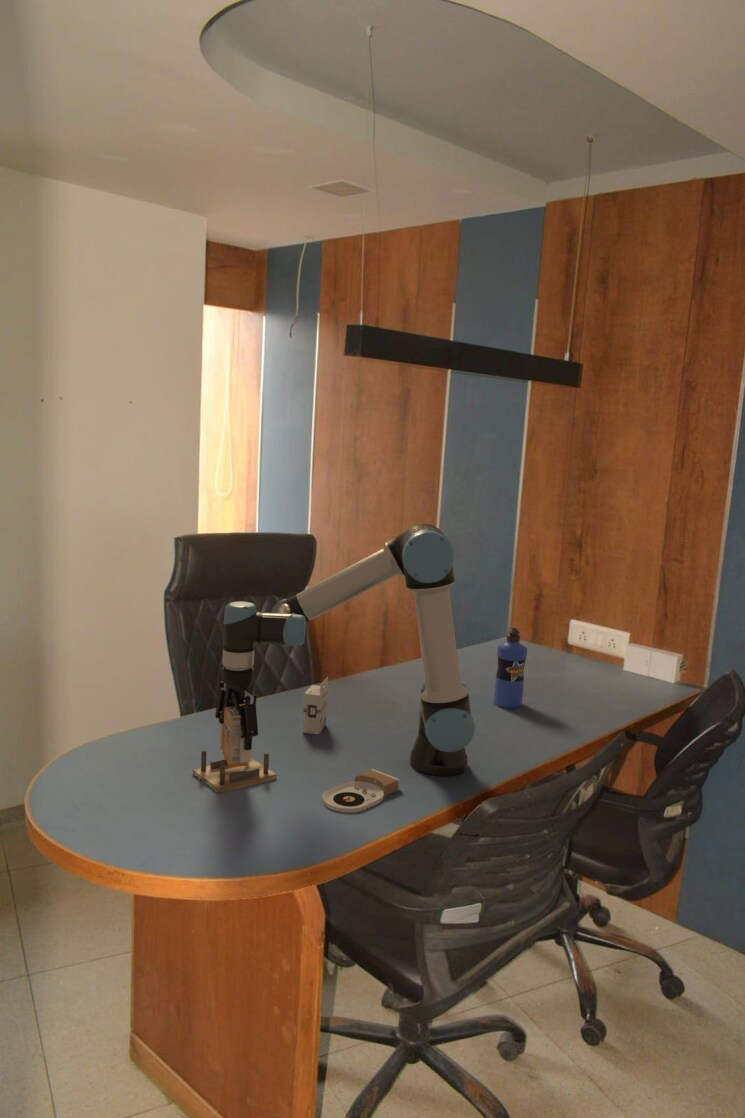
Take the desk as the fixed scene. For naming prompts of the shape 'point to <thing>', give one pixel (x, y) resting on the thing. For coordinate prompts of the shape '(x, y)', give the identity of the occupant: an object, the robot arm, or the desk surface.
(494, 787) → the desk surface
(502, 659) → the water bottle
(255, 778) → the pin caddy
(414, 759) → the robot arm
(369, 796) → the record player
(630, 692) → the desk surface
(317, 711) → the ink box
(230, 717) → the supplement box
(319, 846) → the desk surface
